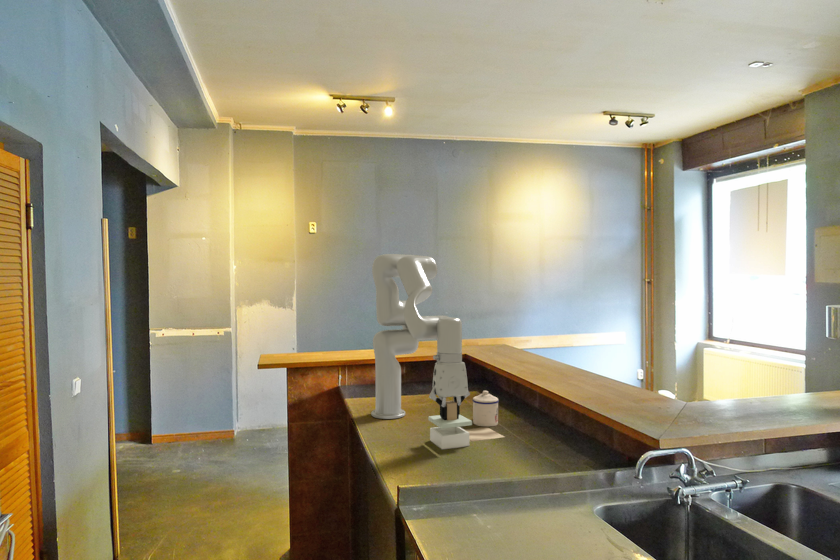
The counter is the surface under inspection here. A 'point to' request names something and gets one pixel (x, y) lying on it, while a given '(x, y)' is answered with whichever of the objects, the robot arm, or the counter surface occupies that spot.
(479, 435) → the mat
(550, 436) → the counter surface
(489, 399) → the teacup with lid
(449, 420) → the lid
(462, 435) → the white open square tray
